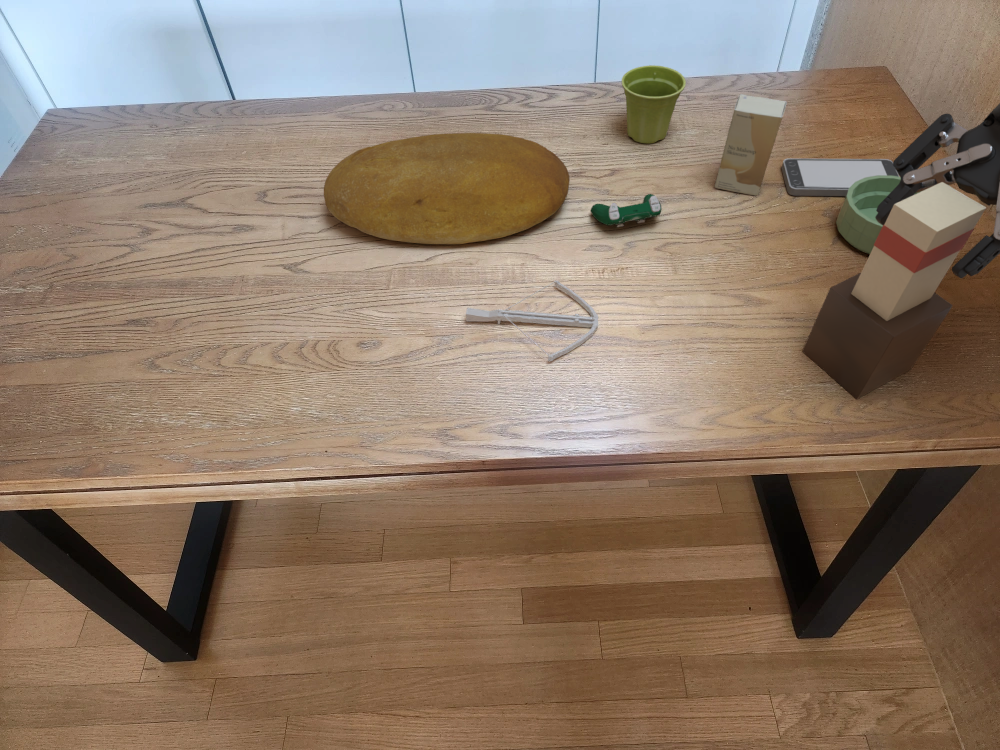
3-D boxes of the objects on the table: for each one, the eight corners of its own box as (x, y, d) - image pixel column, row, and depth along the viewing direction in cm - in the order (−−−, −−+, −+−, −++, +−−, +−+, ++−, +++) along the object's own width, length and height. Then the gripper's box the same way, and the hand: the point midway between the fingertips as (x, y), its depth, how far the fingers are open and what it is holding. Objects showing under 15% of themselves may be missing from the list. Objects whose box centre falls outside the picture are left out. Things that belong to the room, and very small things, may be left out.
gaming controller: (593, 233, 94) (604, 228, 88) (588, 206, 93) (599, 199, 87) (655, 221, 94) (670, 215, 88) (651, 194, 94) (666, 186, 88)
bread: (335, 181, 102) (318, 121, 95) (562, 162, 102) (563, 100, 94) (321, 260, 91) (299, 199, 83) (576, 239, 90) (578, 176, 82)
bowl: (946, 241, 85) (965, 209, 81) (883, 273, 82) (899, 241, 79) (877, 197, 92) (891, 165, 88) (815, 225, 89) (827, 193, 85)
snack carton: (931, 298, 66) (987, 207, 57) (886, 321, 64) (937, 232, 56) (894, 271, 69) (942, 181, 60) (850, 293, 67) (893, 203, 58)
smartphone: (782, 158, 97) (891, 159, 95) (780, 164, 98) (888, 165, 96) (790, 188, 92) (905, 190, 90) (788, 195, 93) (902, 196, 91)
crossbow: (597, 293, 85) (599, 281, 83) (595, 369, 77) (597, 358, 75) (473, 283, 86) (473, 271, 84) (459, 357, 78) (458, 346, 76)
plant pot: (679, 119, 107) (687, 66, 100) (675, 152, 101) (683, 98, 95) (621, 116, 109) (625, 63, 102) (613, 148, 103) (618, 95, 96)
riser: (910, 369, 73) (953, 305, 65) (856, 399, 71) (893, 336, 63) (854, 324, 78) (887, 259, 70) (801, 351, 76) (830, 287, 68)
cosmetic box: (713, 189, 95) (731, 109, 86) (719, 172, 98) (737, 92, 88) (759, 197, 93) (783, 116, 84) (764, 179, 96) (787, 99, 86)
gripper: (991, 37, 57) (845, 194, 63) (1165, 110, 49) (978, 282, 55) (1002, 79, 62) (866, 220, 68) (1160, 151, 54) (990, 303, 60)
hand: (916, 247), depth 62 cm, fingers open, 8 cm apart
